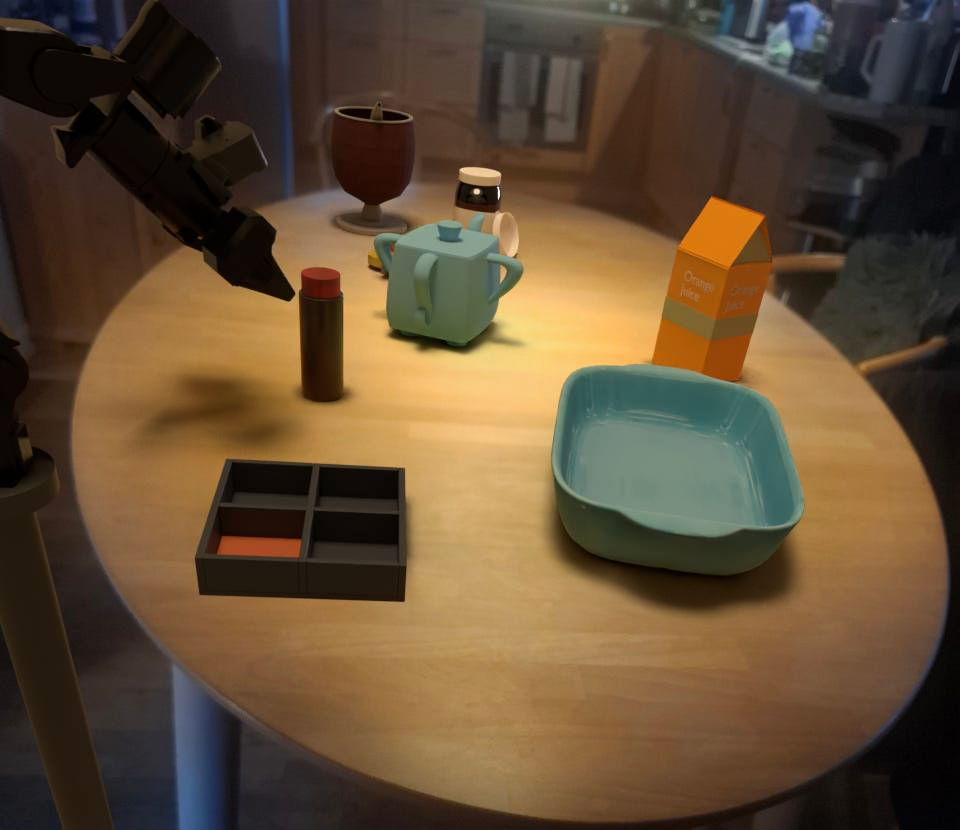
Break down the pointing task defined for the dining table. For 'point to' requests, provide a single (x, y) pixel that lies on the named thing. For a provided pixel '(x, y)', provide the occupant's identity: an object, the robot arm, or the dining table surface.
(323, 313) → the pepper grinder
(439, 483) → the dining table surface
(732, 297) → the orange juice
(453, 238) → the teapot
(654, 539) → the casserole dish
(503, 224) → the spread jar
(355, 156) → the mate gourd
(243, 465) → the tray
